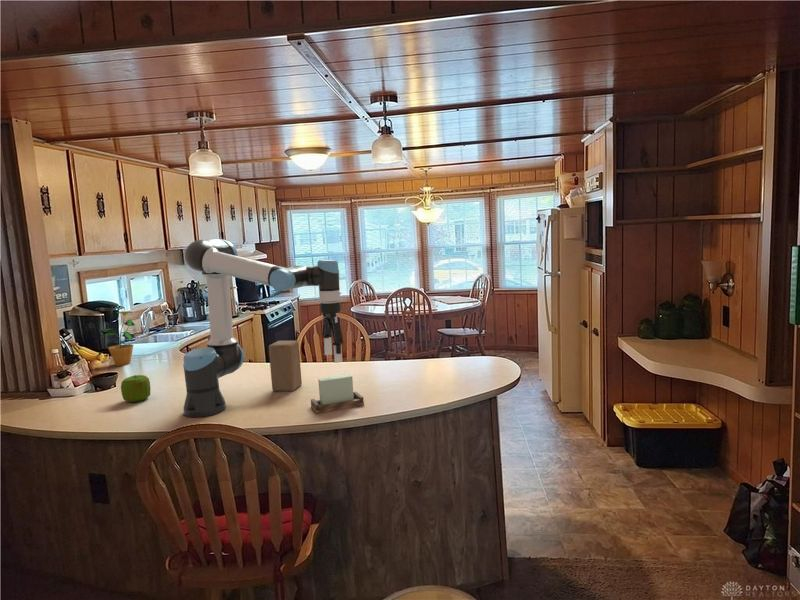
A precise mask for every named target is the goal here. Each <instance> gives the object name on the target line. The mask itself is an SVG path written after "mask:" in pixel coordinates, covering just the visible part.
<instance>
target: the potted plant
mask: <svg viewBox="0 0 800 600" xmlns="http://www.w3.org/2000/svg"><path fill="white" fill-rule="evenodd" d="M116 313H117V314H121V315H123V318H126V316H127V314H128V315H129V313H131V314H132V313H133V312H132V311H116ZM124 325H125V326H128V327H127V328H126V330H125V331H123V327H124ZM132 326H136V324H135V323H134V322H133V321H132V319H131V318H129V319H128V320H126V322H125V319H123V321H122V325H121V329H120V332H119V335H117V334H116V332H115V331H114V330H113V329H112V328H106V329H104V328H99V329H98V330H99V331H100V332H101V333H102V334H103V335H105V336H108V337H109V336H110V337H111V336H112V337H117V338H118V339H119V344H117V345H113V346H109V347H108V351H109V353H110V355H111V357H112V360H113V363H114V365H115V367H122V366H126V365H130V364H131V361H132V355H133V350H134V344H131V343H126V344H123V343H122V337H123V338H126V339H128V340H133V339H134V337H135V334H134V333H133V334H132V333H130V332H128V329H129V327H132ZM110 330H111V331H112V332H110Z"/></svg>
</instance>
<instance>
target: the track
mask: <svg viewBox="0 0 800 600" xmlns="http://www.w3.org/2000/svg"><path fill="white" fill-rule="evenodd" d="M353 395H354V400H349V401H343V402H338V403H332V404H326V405H320V399H317V400H315V398H310V407H311V408H312V410H313V409H314V410H313V411H314V413H316V414H317V415H318V414H322V413H328V412H334V411H339V410H345V409H350V408H355V407H361V406H365V402H364V401H365V400H364V396H363V395H361V394H360V393H359V392H357V391H353Z"/></svg>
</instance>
